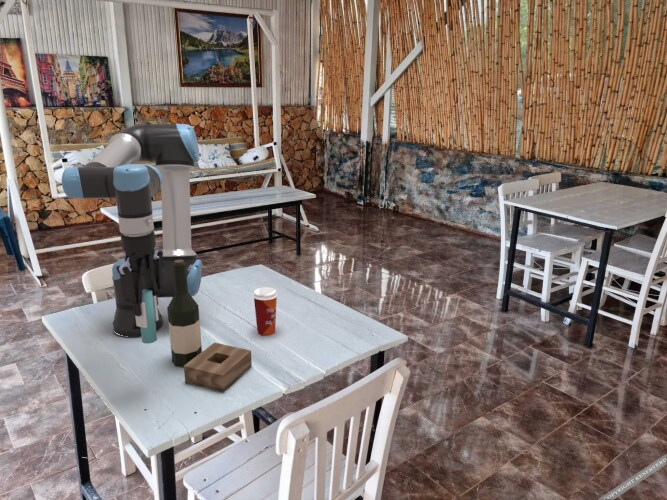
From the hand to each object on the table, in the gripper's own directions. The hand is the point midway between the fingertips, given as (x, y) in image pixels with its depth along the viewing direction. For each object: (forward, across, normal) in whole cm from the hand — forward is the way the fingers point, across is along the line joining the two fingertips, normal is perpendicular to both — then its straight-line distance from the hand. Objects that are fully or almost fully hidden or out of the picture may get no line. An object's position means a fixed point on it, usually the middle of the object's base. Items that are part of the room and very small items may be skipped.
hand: (147, 322), depth 130 cm
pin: (+5, 0, 0) cm, 5 cm away
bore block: (+19, +13, -11) cm, 26 cm away
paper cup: (+20, +40, -11) cm, 46 cm away
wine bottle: (+19, +16, +2) cm, 25 cm away
